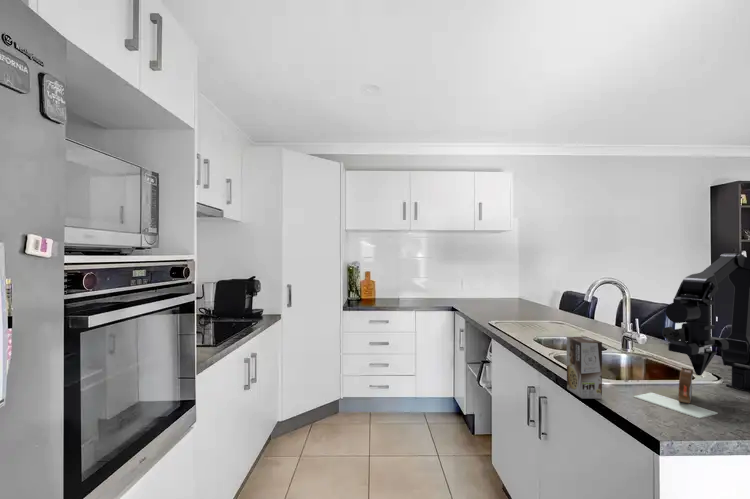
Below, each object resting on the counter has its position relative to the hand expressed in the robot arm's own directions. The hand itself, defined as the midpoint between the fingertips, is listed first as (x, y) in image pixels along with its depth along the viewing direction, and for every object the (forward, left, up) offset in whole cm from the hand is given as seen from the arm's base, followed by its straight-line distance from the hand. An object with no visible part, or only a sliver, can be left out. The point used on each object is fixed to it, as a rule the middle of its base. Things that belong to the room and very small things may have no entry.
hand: (698, 375), depth 120 cm
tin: (+6, 0, -7) cm, 9 cm away
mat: (+13, 0, -7) cm, 14 cm away
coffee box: (+27, -16, -7) cm, 32 cm away
